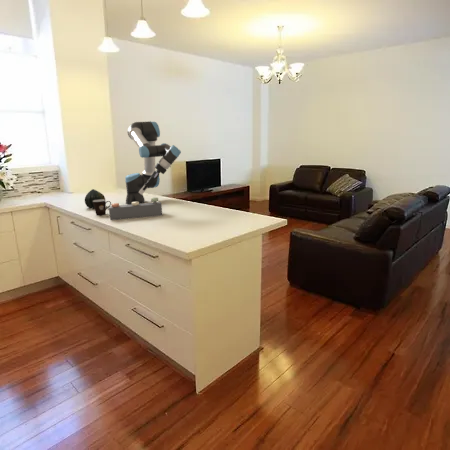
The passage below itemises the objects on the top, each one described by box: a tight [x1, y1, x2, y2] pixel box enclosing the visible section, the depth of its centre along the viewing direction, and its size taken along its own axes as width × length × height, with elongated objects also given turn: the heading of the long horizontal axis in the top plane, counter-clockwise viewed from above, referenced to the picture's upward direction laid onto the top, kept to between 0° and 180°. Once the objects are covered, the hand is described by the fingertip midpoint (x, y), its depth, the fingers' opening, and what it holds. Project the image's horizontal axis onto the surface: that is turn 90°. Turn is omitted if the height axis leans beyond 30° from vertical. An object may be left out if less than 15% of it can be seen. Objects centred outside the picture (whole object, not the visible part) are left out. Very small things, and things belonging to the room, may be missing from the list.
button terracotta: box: [110, 202, 120, 207], centre depth 227 cm, size 5×5×5 cm
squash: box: [84, 188, 106, 209], centre depth 264 cm, size 14×15×15 cm
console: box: [108, 201, 163, 221], centre depth 230 cm, size 34×7×8 cm, turn 103°
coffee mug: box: [93, 199, 112, 216], centre depth 241 cm, size 12×9×10 cm
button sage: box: [150, 197, 159, 204], centre depth 232 cm, size 5×5×5 cm
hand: (140, 193), depth 226 cm, fingers closed
